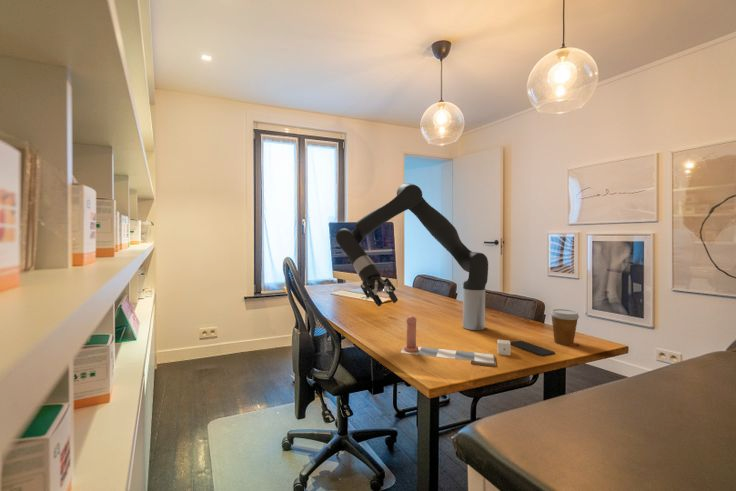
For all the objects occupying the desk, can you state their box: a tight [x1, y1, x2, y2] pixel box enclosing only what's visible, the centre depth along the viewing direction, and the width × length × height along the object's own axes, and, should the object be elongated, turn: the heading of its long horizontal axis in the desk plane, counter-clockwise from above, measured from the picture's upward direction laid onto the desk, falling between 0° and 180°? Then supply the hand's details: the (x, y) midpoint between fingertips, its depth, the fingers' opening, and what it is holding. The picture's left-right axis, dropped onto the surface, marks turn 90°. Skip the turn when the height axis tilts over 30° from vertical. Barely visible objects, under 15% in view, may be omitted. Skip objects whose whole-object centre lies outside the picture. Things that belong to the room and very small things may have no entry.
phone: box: [510, 340, 556, 357], centre depth 125 cm, size 7×1×15 cm
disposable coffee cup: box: [549, 308, 580, 346], centre depth 132 cm, size 10×10×12 cm
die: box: [496, 339, 512, 356], centre depth 120 cm, size 4×4×4 cm
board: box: [400, 346, 497, 368], centre depth 117 cm, size 9×31×1 cm, turn 73°
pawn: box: [403, 315, 419, 352], centre depth 120 cm, size 5×5×12 cm
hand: (388, 303), depth 127 cm, fingers open, 8 cm apart
